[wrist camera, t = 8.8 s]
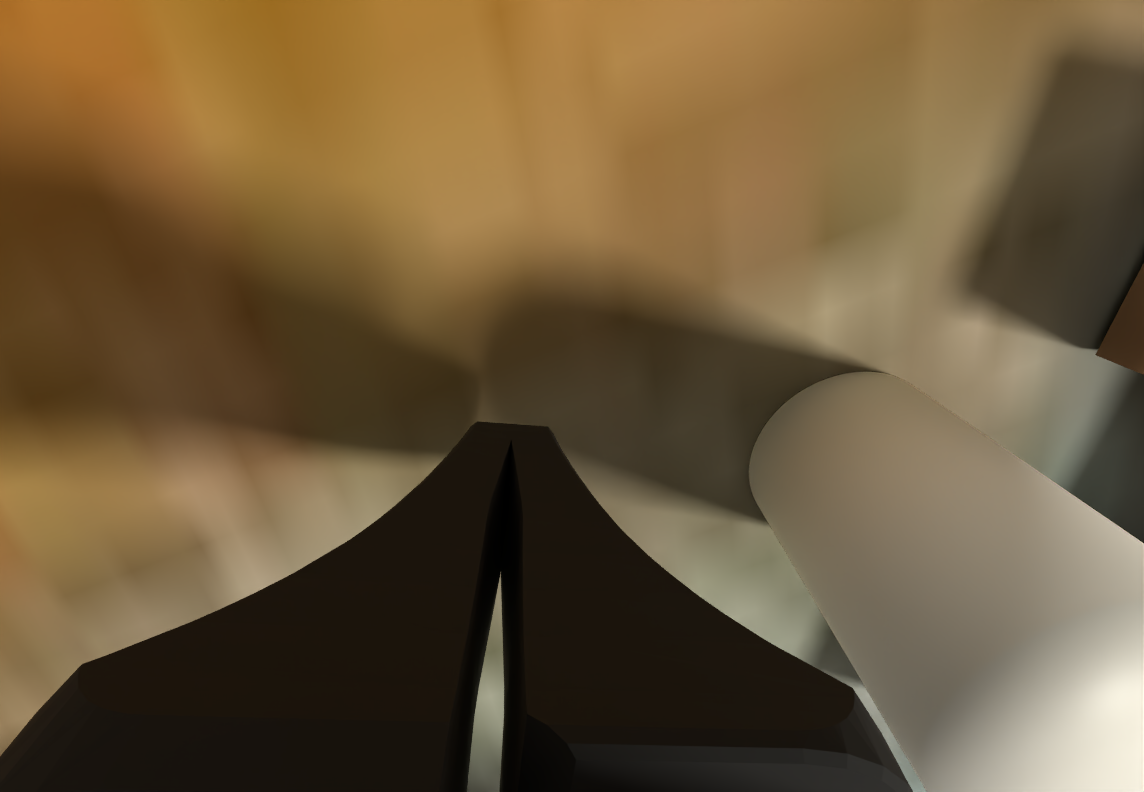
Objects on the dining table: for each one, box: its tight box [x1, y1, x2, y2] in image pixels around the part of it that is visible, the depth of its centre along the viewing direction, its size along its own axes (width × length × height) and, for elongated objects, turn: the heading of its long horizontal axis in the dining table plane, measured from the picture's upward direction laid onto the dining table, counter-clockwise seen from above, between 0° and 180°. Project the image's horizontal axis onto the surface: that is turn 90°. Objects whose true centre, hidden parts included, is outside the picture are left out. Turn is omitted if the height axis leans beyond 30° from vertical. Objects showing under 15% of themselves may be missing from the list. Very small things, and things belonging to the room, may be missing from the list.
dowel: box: [749, 372, 1144, 792], centre depth 9 cm, size 4×4×6 cm
